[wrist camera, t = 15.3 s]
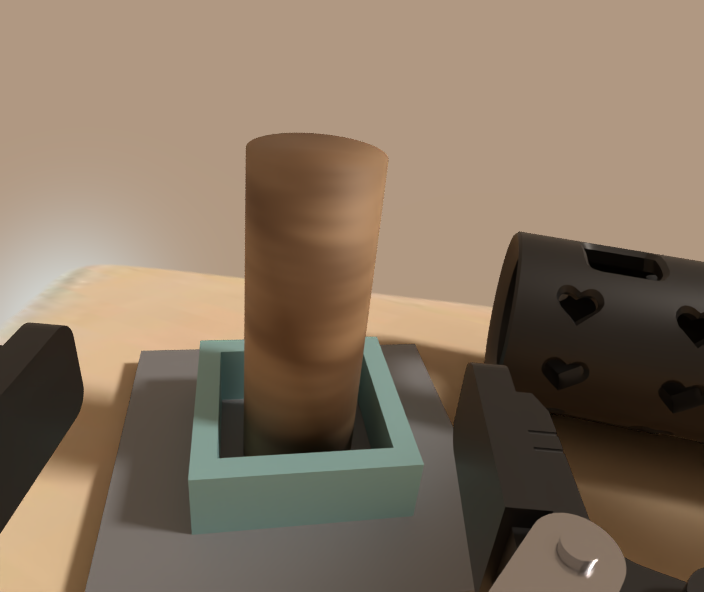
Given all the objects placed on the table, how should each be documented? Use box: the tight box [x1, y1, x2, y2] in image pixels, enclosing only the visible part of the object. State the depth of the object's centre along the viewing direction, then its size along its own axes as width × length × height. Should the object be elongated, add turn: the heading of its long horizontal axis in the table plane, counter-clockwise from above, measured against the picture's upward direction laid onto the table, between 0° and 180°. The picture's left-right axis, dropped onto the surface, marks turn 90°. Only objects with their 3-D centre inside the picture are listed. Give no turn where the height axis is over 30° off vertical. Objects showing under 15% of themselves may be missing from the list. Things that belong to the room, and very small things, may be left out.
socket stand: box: [85, 337, 475, 592], centre depth 27 cm, size 16×16×4 cm
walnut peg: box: [244, 133, 388, 457], centre depth 24 cm, size 5×5×14 cm
